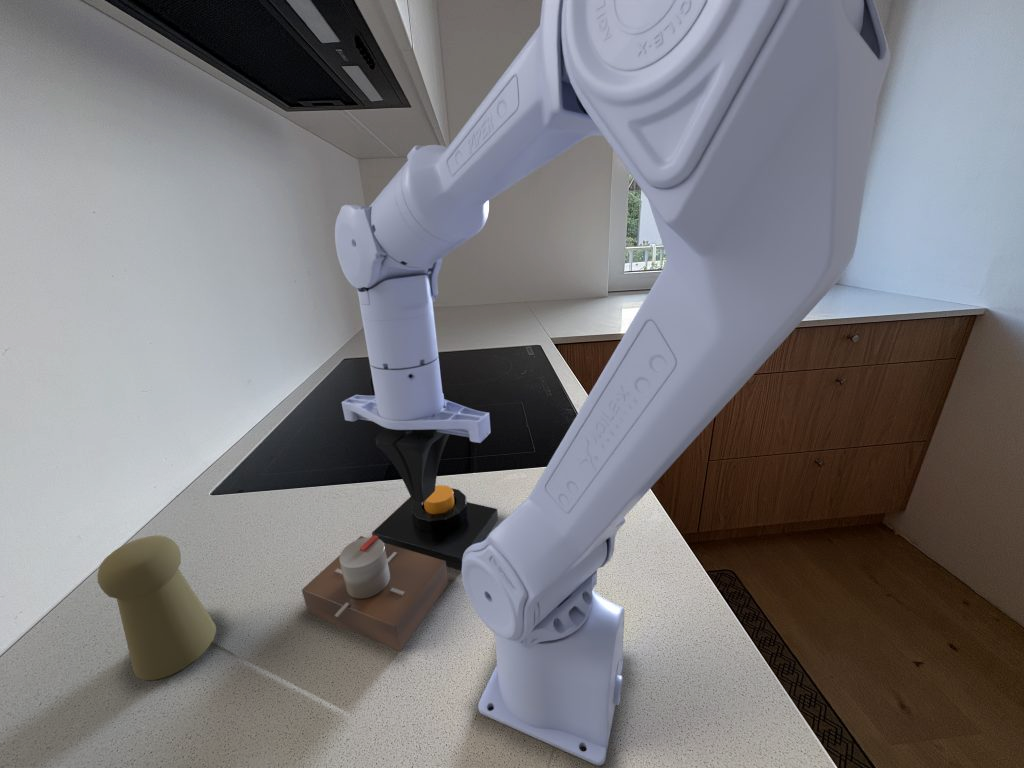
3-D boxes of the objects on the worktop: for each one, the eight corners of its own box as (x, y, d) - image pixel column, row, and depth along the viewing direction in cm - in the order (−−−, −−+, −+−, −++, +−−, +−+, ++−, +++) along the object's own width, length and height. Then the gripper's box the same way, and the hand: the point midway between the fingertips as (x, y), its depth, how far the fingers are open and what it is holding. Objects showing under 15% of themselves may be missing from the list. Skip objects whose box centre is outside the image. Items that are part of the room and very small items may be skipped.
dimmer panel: (448, 583, 43) (445, 559, 42) (392, 663, 35) (386, 635, 34) (365, 557, 48) (360, 534, 46) (298, 623, 40) (291, 597, 39)
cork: (116, 687, 35) (61, 584, 31) (158, 625, 40) (116, 531, 37) (196, 671, 36) (153, 568, 32) (227, 612, 41) (193, 519, 38)
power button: (460, 500, 52) (458, 488, 51) (444, 517, 49) (442, 505, 48) (435, 494, 53) (433, 482, 52) (418, 511, 50) (416, 499, 49)
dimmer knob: (370, 604, 38) (363, 570, 36) (337, 591, 39) (328, 558, 38) (398, 572, 41) (392, 540, 40) (366, 562, 43) (360, 530, 41)
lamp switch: (498, 520, 53) (496, 496, 51) (462, 571, 45) (459, 544, 44) (418, 501, 57) (415, 478, 56) (373, 544, 49) (368, 519, 48)
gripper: (501, 352, 36) (509, 486, 41) (369, 342, 42) (389, 461, 47) (461, 378, 30) (475, 532, 35) (313, 363, 36) (342, 497, 41)
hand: (423, 494), depth 40 cm, fingers closed
